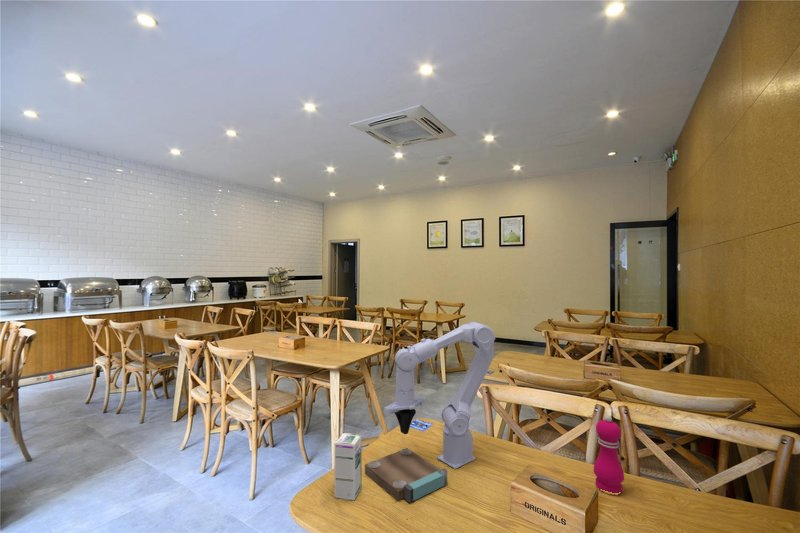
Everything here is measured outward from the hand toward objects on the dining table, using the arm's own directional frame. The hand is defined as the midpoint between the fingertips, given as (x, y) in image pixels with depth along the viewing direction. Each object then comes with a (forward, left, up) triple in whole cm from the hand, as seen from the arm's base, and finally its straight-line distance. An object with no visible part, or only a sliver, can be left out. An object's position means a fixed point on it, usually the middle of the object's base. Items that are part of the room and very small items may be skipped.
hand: (404, 432), depth 107 cm
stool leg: (+4, +14, -9) cm, 18 cm away
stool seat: (+4, +5, -9) cm, 12 cm away
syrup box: (+21, +2, -10) cm, 23 cm away
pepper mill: (-37, +44, -10) cm, 58 cm away
